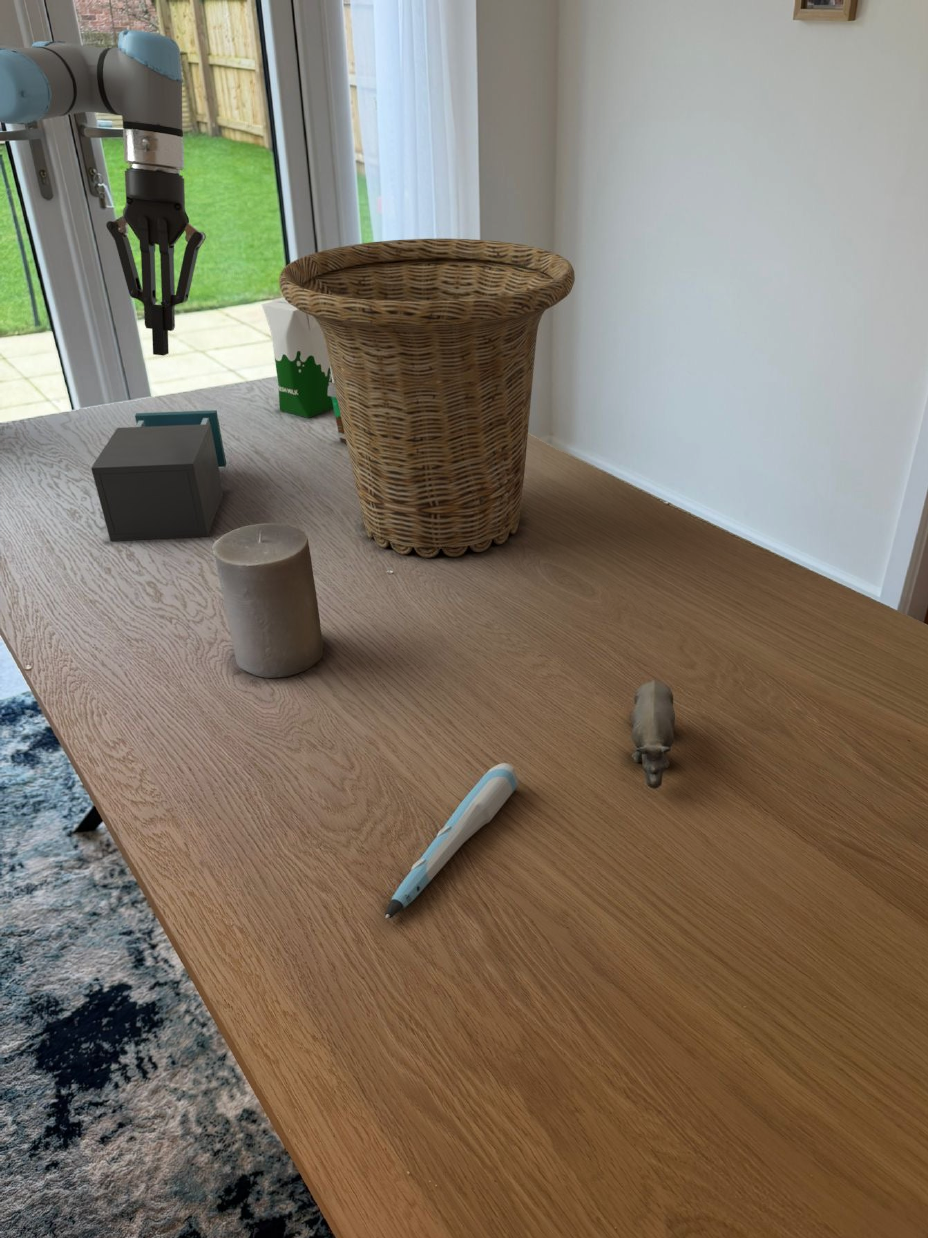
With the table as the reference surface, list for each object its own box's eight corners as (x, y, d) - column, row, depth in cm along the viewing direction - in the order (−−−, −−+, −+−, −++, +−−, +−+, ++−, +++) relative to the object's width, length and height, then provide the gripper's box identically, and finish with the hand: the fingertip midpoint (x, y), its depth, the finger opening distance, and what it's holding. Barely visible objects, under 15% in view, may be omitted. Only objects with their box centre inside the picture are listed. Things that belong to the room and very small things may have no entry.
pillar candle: (323, 629, 118) (307, 507, 109) (324, 674, 110) (306, 547, 101) (237, 636, 116) (213, 514, 108) (231, 683, 108) (205, 555, 100)
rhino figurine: (626, 806, 92) (630, 753, 88) (630, 717, 103) (633, 667, 100) (673, 809, 91) (678, 756, 88) (671, 720, 103) (676, 669, 99)
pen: (491, 780, 95) (490, 756, 93) (521, 790, 94) (521, 766, 92) (372, 919, 81) (368, 893, 79) (406, 932, 80) (403, 906, 78)
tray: (156, 453, 160) (144, 400, 155) (231, 450, 161) (222, 397, 156) (129, 503, 144) (115, 446, 139) (213, 500, 145) (202, 443, 140)
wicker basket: (485, 457, 160) (478, 227, 141) (621, 539, 136) (635, 275, 117) (274, 509, 145) (234, 258, 126) (385, 611, 121) (357, 320, 102)
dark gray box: (133, 496, 149) (117, 427, 143) (223, 492, 150) (210, 423, 144) (110, 541, 137) (90, 467, 131) (207, 536, 138) (192, 463, 132)
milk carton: (344, 406, 180) (331, 287, 169) (307, 421, 174) (291, 298, 163) (308, 397, 185) (293, 280, 173) (271, 411, 178) (253, 290, 167)
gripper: (95, 161, 133) (105, 351, 142) (198, 174, 134) (201, 362, 144) (112, 164, 140) (121, 346, 149) (210, 177, 141) (213, 356, 151)
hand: (160, 353), depth 147 cm, fingers closed
